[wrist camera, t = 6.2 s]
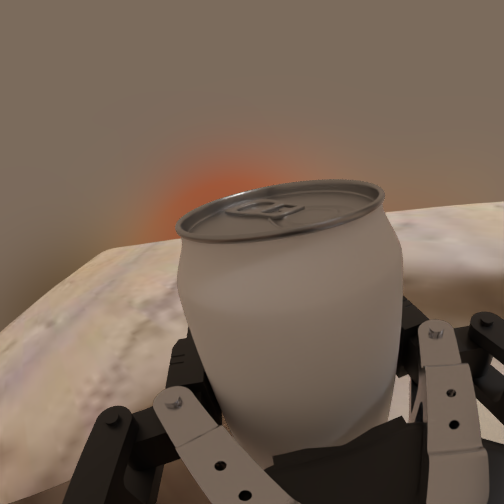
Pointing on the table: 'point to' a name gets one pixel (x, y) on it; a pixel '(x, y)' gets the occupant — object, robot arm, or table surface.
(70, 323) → the table surface
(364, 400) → the can
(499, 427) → the table surface
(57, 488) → the rest board
